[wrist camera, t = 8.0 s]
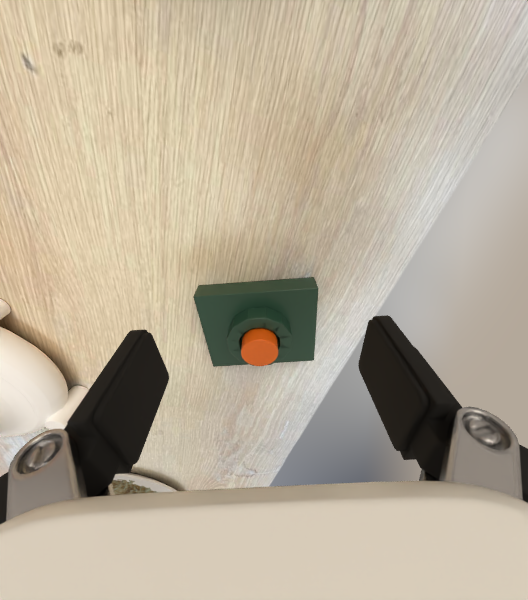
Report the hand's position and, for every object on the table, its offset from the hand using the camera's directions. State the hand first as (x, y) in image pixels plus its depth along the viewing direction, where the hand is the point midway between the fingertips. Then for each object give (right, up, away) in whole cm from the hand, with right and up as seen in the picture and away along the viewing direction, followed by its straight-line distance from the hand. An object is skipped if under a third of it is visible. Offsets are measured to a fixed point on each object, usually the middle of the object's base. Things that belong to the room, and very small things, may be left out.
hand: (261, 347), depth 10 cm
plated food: (-33, -42, +44) cm, 70 cm away
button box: (0, 0, +17) cm, 17 cm away
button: (0, -2, +14) cm, 14 cm away
